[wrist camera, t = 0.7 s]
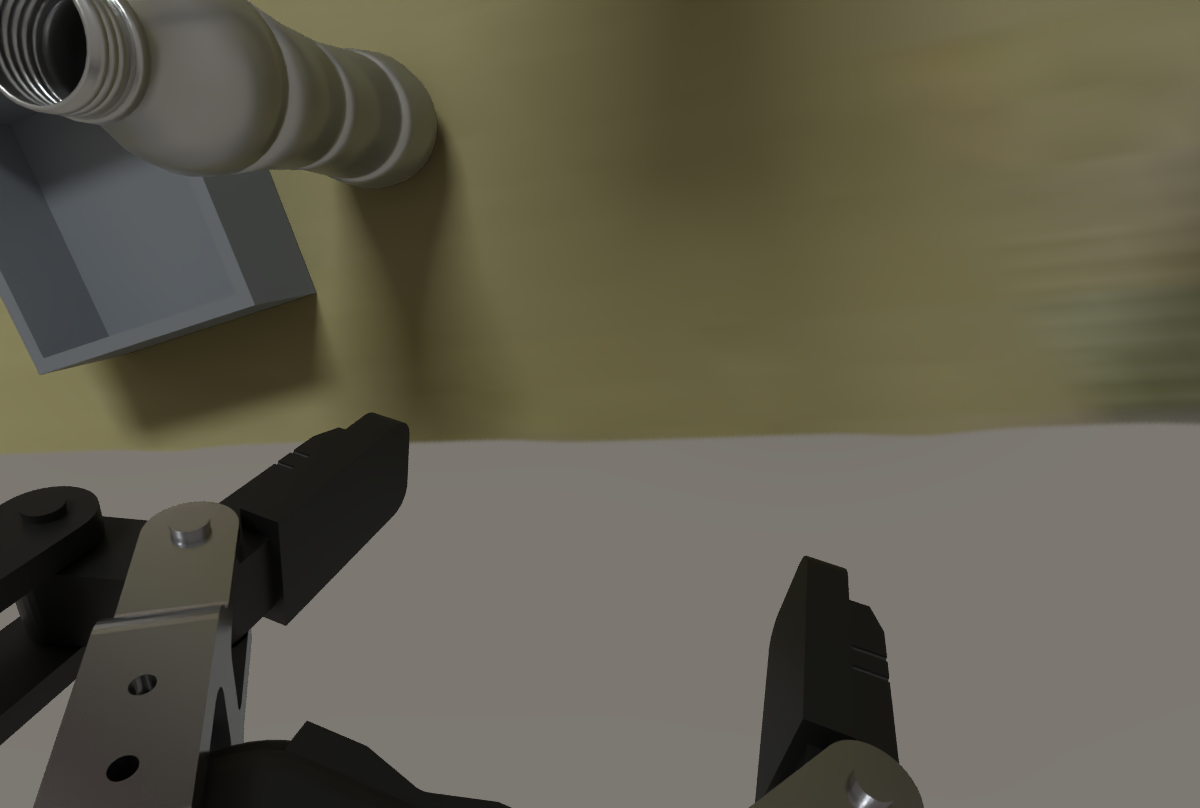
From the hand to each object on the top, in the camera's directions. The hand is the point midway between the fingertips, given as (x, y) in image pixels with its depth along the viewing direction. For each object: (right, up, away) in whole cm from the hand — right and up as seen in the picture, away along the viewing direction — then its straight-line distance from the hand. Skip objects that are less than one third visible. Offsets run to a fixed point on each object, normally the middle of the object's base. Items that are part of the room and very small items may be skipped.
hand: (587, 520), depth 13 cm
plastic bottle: (-11, +17, +23) cm, 31 cm away
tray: (-26, +14, +27) cm, 40 cm away
